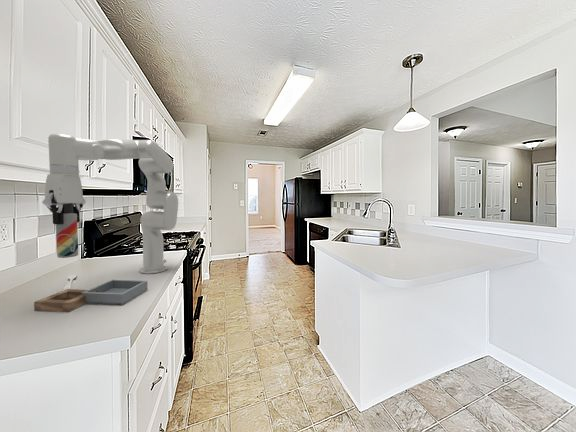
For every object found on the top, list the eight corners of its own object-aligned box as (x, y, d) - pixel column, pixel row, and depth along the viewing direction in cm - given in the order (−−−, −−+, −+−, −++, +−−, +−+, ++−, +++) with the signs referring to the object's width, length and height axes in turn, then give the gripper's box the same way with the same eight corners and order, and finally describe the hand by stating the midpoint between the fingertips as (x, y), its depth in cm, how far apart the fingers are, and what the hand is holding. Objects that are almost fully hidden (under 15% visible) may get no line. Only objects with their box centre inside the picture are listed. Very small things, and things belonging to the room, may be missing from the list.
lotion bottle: (65, 258, 84) (63, 200, 83) (52, 257, 85) (50, 199, 84) (82, 254, 90) (80, 200, 88) (70, 253, 91) (67, 199, 89)
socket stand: (67, 296, 94) (67, 289, 94) (97, 297, 94) (97, 290, 94) (34, 310, 82) (34, 301, 82) (69, 311, 82) (69, 303, 82)
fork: (61, 296, 101) (61, 290, 101) (70, 277, 118) (70, 271, 118) (71, 295, 103) (70, 288, 102) (78, 276, 120) (78, 270, 119)
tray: (112, 288, 104) (112, 279, 103) (147, 290, 103) (147, 280, 103) (81, 303, 89) (81, 292, 88) (122, 305, 88) (122, 294, 88)
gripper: (76, 173, 94) (77, 220, 95) (27, 168, 77) (30, 225, 78) (95, 174, 94) (96, 221, 95) (50, 168, 77) (53, 226, 78)
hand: (66, 222), depth 87 cm, fingers closed on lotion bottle, 5 cm apart
